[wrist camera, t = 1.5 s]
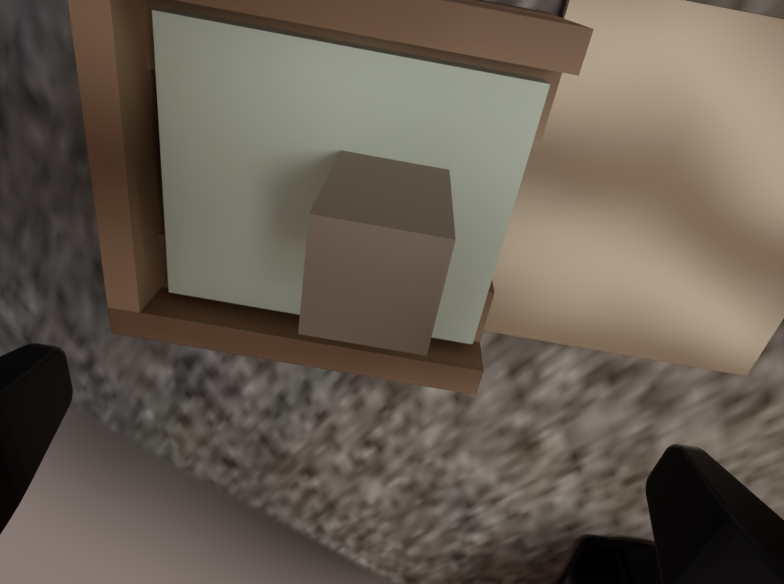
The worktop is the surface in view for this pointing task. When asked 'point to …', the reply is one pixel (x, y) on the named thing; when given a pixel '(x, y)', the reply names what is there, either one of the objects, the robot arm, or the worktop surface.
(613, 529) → the worktop surface
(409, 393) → the worktop surface
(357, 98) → the lid
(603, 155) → the mat
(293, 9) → the box
